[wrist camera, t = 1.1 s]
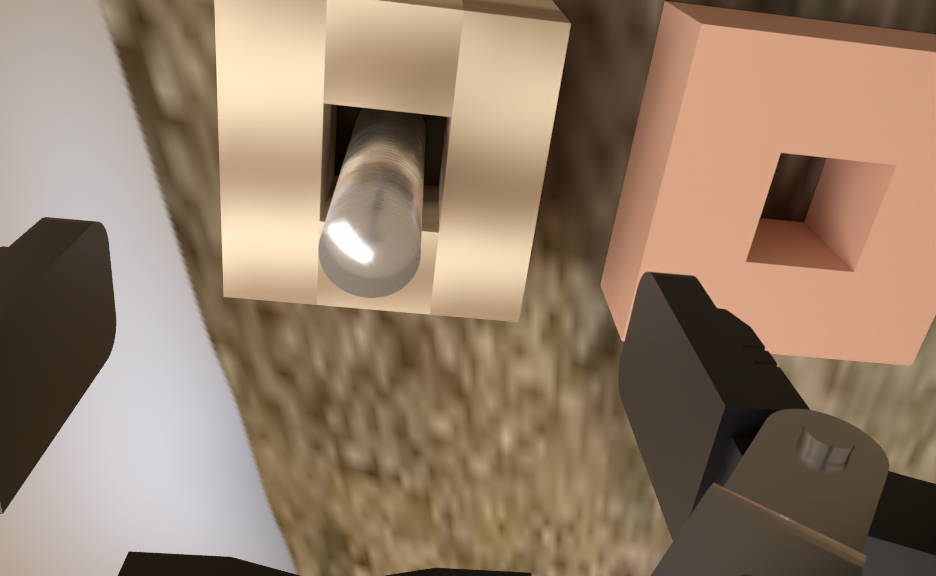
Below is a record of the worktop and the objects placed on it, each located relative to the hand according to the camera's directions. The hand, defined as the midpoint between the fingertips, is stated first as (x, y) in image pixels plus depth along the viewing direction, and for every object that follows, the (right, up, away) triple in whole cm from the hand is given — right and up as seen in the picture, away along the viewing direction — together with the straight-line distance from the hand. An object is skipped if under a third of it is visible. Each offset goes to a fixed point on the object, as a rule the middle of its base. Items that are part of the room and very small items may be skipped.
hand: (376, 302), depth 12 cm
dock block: (+15, +5, +23) cm, 28 cm away
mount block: (-2, +7, +22) cm, 23 cm away
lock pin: (-2, +7, +22) cm, 23 cm away
